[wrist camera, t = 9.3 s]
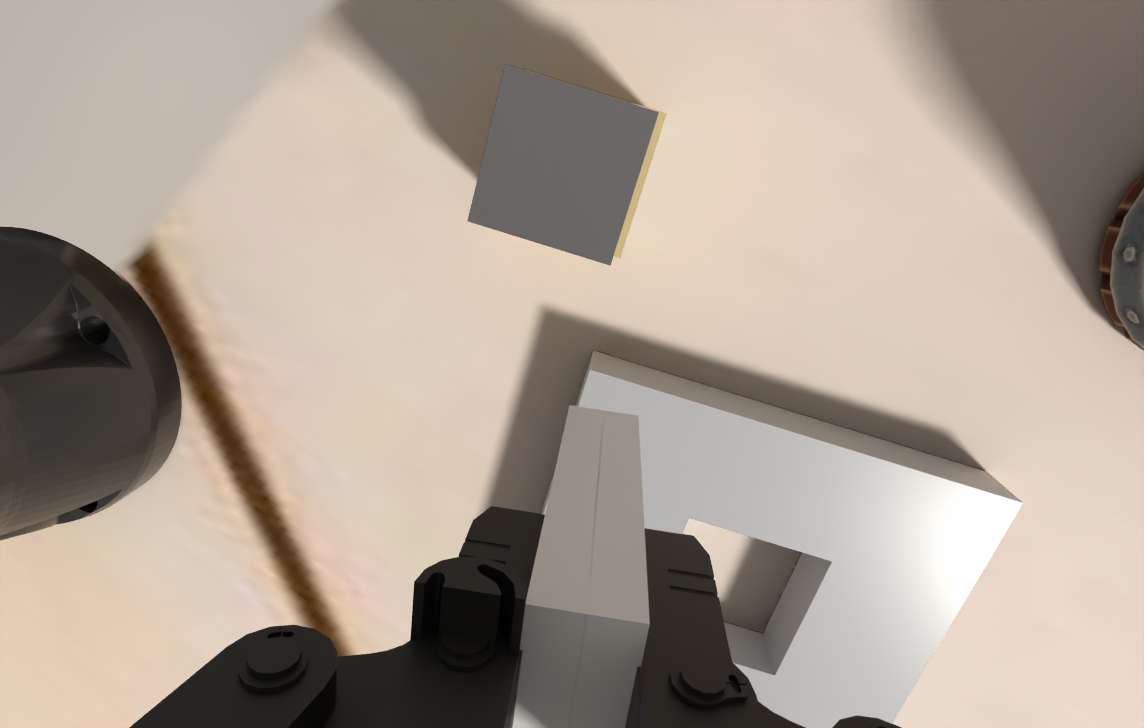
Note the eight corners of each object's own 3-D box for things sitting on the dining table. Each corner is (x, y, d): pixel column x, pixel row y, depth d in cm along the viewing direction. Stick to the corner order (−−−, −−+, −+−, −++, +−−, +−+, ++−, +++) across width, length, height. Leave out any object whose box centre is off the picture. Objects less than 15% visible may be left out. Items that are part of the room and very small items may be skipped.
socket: (467, 743, 39) (454, 788, 36) (593, 350, 31) (590, 369, 28) (781, 837, 40) (793, 889, 37) (987, 471, 32) (1022, 502, 29)
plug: (508, 206, 30) (451, 229, 20) (539, 83, 28) (495, 45, 18) (621, 242, 30) (619, 281, 20) (659, 120, 28) (677, 101, 18)
